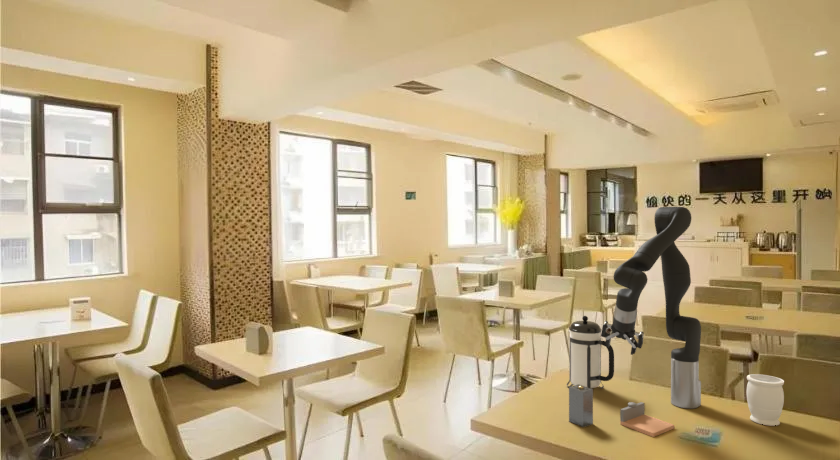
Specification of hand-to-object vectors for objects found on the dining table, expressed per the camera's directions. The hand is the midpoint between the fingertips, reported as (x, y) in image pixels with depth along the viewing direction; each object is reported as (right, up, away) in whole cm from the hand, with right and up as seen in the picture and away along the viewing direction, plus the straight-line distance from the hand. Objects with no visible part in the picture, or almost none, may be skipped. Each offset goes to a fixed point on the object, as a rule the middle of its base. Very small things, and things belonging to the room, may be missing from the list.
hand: (620, 349), depth 186 cm
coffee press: (-5, -21, +21) cm, 30 cm away
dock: (+2, -22, -18) cm, 28 cm away
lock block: (-19, -22, -14) cm, 33 cm away
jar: (+44, -22, -14) cm, 51 cm away
